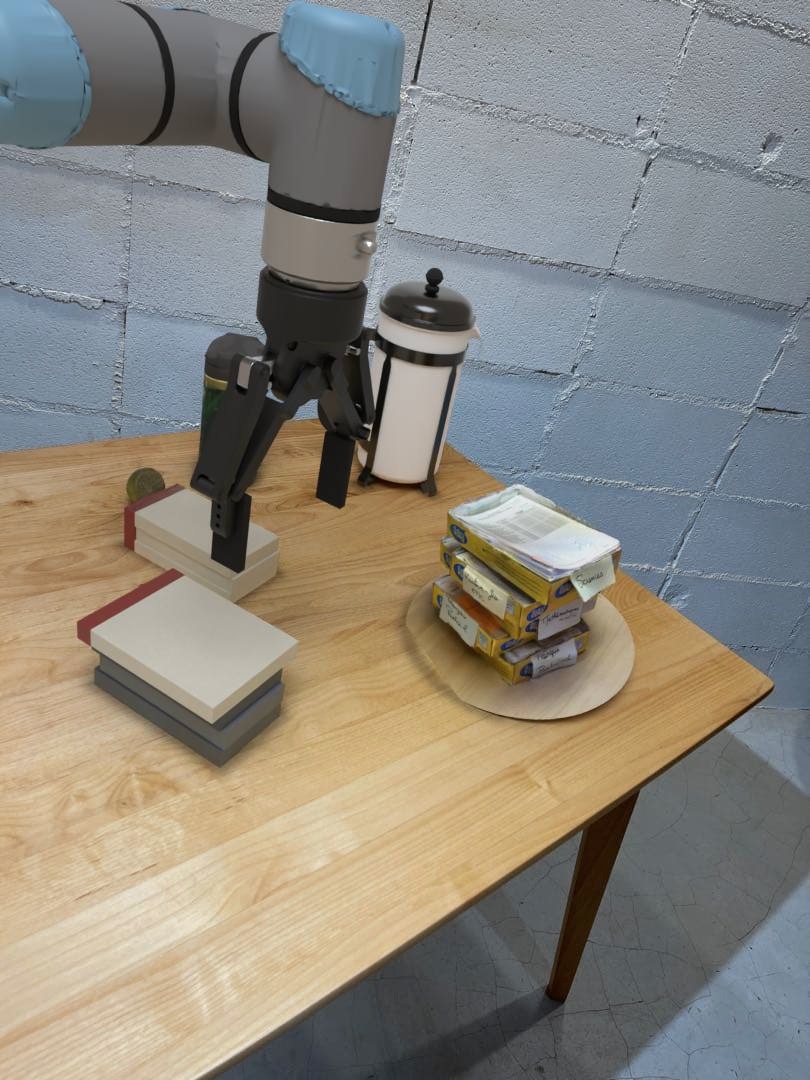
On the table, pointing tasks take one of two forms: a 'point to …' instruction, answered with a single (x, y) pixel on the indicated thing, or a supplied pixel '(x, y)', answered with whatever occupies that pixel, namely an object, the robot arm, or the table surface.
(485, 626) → the paper stack
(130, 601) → the white book
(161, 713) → the grey stack
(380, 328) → the coffee press
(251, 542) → the white stack
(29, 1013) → the table surface
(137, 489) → the lime
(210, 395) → the coffee jar
